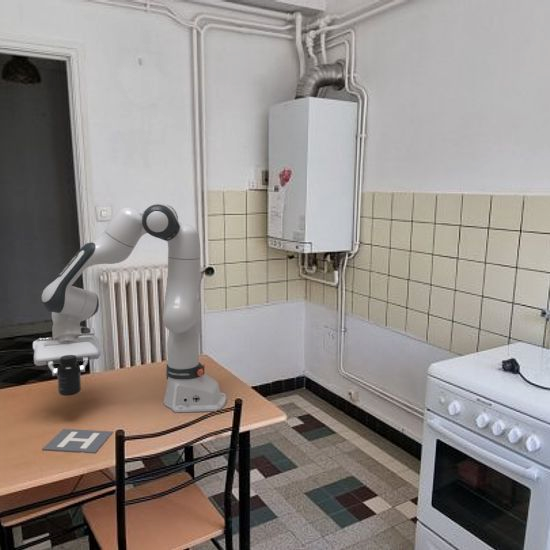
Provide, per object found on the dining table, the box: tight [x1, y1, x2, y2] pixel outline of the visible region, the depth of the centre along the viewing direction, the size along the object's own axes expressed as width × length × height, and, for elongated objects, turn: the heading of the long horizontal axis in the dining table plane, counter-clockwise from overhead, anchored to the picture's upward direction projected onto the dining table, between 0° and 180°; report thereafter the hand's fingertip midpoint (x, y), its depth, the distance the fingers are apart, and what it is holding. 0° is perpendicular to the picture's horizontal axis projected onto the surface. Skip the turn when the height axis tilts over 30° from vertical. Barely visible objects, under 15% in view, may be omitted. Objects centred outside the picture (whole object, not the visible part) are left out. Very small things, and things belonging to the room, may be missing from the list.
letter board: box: [41, 428, 114, 454], centre depth 142 cm, size 16×12×1 cm
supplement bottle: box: [56, 355, 82, 397], centre depth 153 cm, size 7×7×12 cm
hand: (69, 373), depth 152 cm, fingers closed on supplement bottle, 7 cm apart
